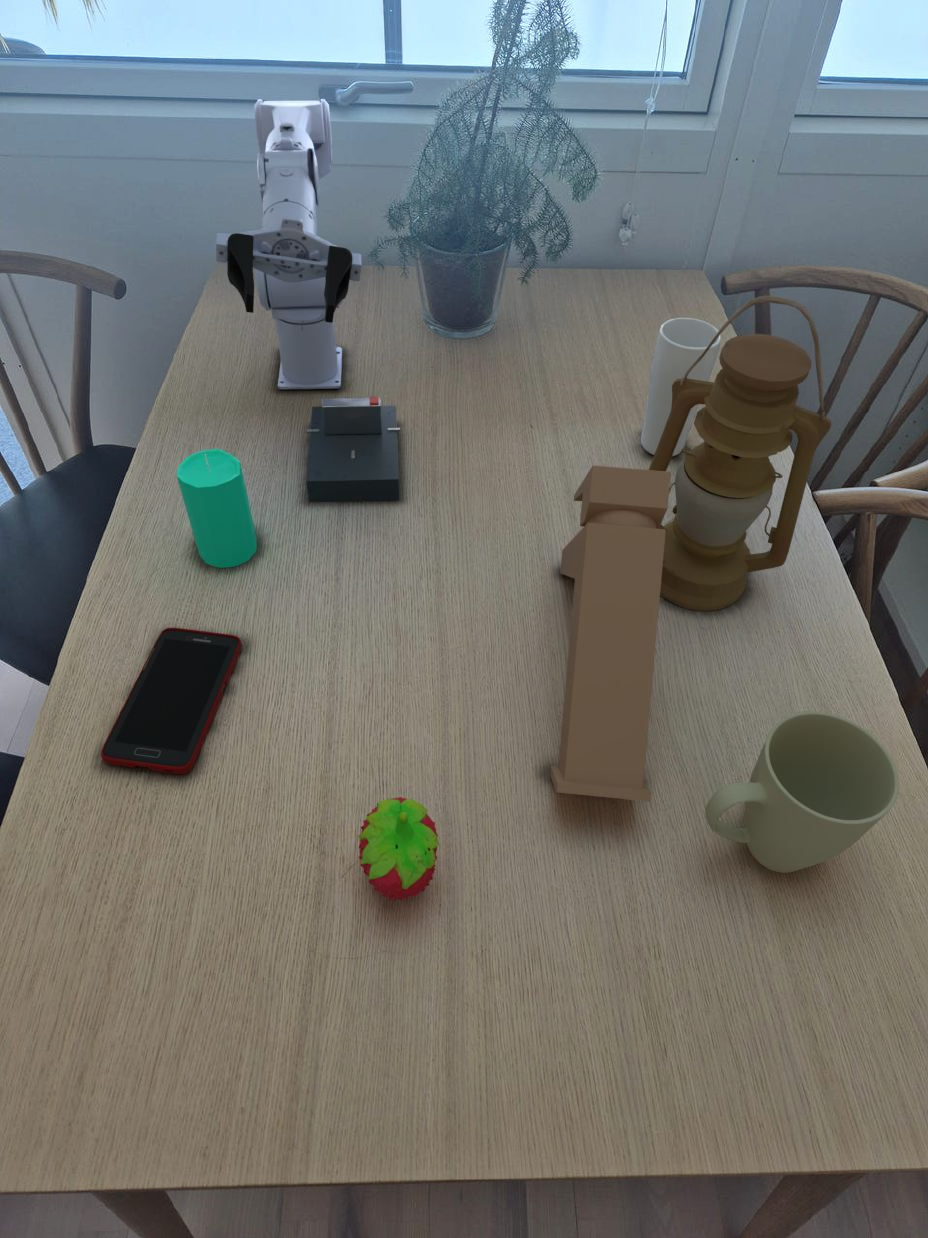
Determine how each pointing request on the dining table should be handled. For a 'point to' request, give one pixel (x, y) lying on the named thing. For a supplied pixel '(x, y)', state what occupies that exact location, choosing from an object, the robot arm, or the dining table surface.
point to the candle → (218, 507)
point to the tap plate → (353, 462)
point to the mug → (809, 792)
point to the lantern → (736, 463)
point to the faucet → (612, 632)
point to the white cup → (676, 374)
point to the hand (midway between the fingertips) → (290, 308)
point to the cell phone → (173, 701)
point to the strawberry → (398, 848)
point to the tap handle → (352, 416)
